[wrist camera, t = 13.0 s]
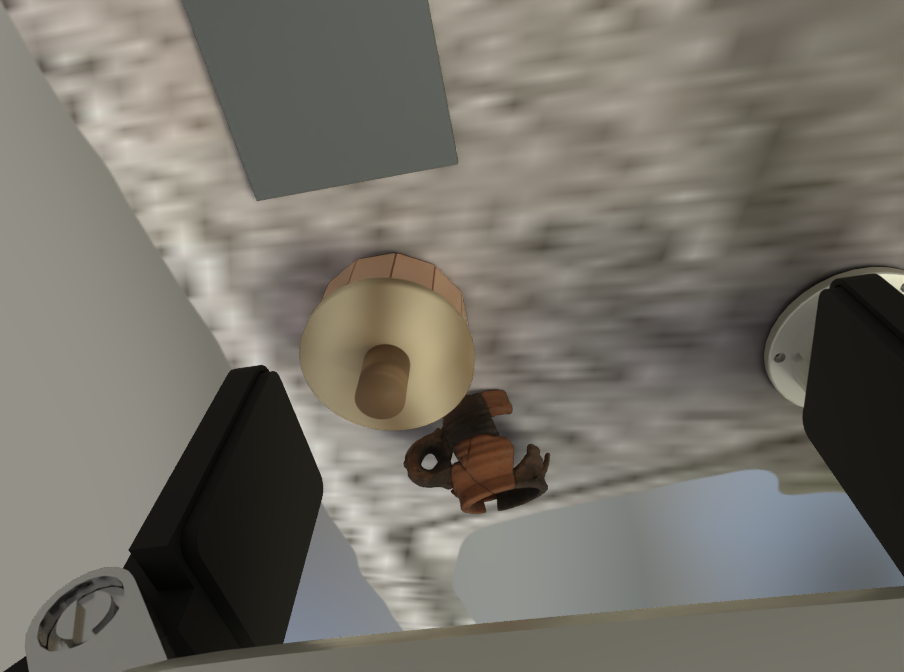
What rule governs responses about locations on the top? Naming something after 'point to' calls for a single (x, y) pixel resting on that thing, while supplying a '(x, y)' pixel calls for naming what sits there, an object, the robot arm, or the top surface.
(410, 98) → the mat
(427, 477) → the pottery mug
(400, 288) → the lid
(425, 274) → the bowl
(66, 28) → the top surface
